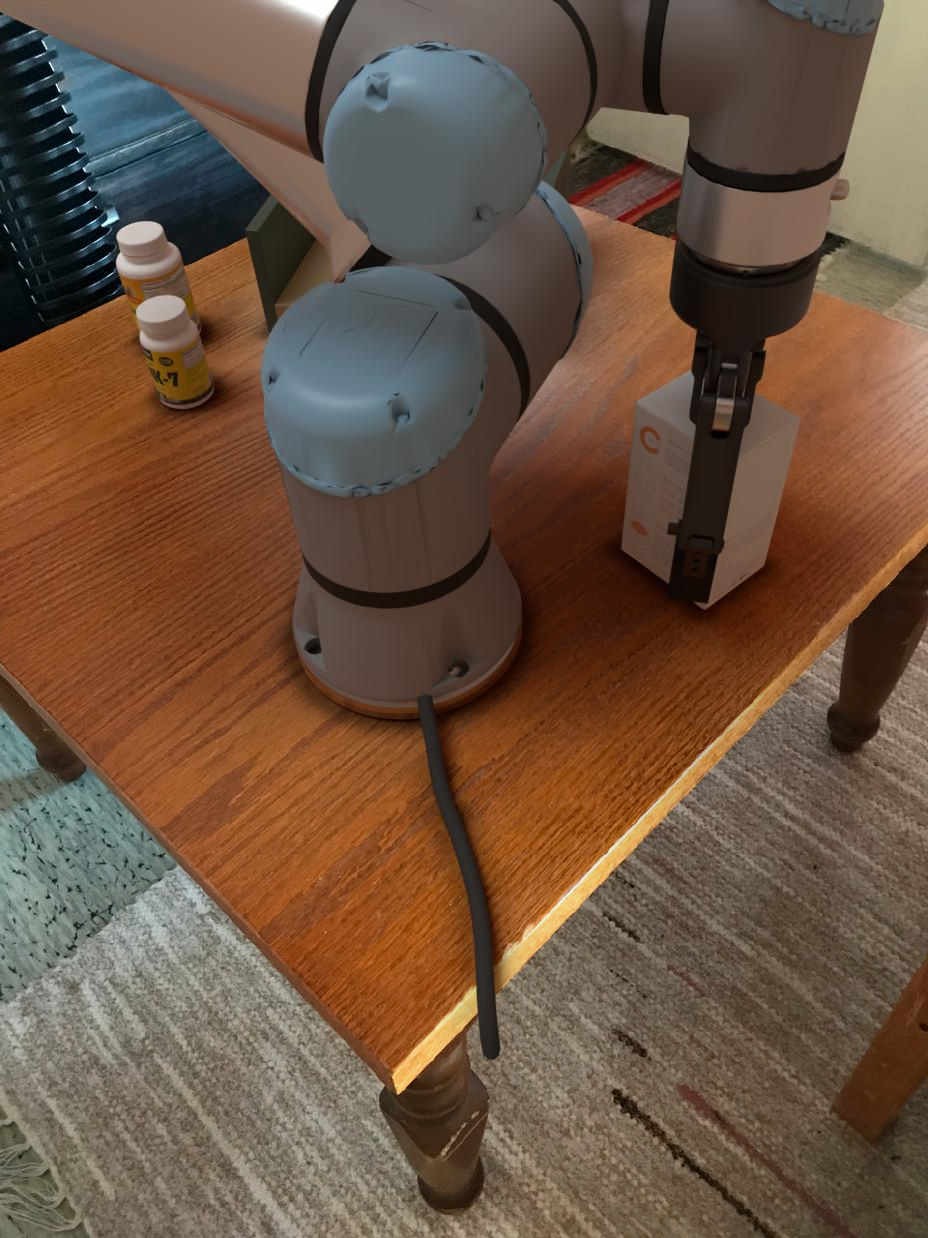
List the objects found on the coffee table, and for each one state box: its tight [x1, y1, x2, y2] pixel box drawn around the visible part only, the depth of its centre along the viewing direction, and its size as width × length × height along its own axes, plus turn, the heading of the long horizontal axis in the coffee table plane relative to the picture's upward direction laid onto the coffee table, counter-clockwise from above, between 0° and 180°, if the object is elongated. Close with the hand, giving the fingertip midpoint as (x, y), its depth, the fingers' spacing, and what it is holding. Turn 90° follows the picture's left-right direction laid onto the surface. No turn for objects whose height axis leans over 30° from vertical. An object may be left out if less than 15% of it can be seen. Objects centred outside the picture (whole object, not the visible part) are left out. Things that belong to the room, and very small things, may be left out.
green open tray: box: [244, 143, 572, 333], centre depth 91 cm, size 20×25×10 cm
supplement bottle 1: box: [115, 220, 202, 335], centre depth 87 cm, size 6×6×10 cm
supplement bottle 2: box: [136, 295, 215, 410], centre depth 82 cm, size 5×5×8 cm
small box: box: [620, 369, 802, 611], centre depth 65 cm, size 8×6×13 cm
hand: (694, 542), depth 68 cm, fingers closed on small box, 10 cm apart
